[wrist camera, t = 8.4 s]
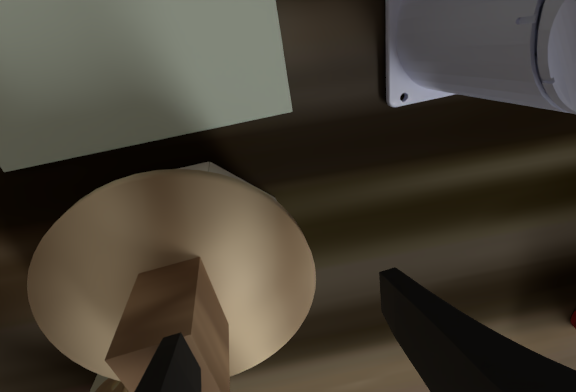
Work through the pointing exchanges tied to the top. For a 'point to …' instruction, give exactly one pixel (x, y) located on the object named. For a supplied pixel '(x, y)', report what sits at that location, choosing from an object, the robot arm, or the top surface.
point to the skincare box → (107, 385)
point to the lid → (172, 275)
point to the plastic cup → (573, 319)
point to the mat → (132, 73)
